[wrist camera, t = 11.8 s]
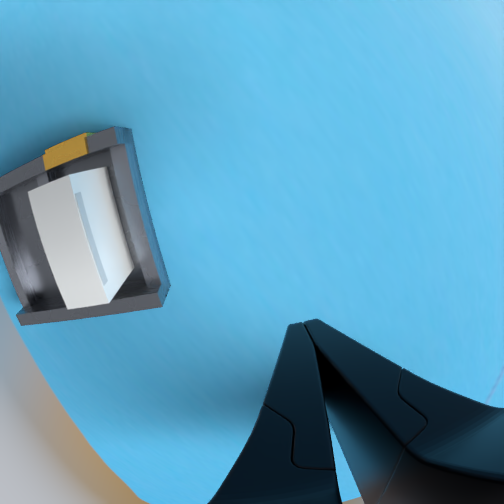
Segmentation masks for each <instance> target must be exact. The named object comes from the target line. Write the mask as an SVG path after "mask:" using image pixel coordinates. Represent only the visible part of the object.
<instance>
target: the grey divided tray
mask: <svg viewBox="0 0 504 504" xmlns="http://www.w3.org/2000/svg"><path fill="white" fill-rule="evenodd" d="M102 167H107V169H108V173H109V178H110V182H111V186H112V190H113V194H114V198H115V202H116V206H117V210H118V214H119V217H120V221H121V225H122V228H123V232H124V235H125V239H126V242H127V245H128V248H129V252H130V255H131V258H132V261H133V264H134V269H133V270H132V271H131V273H130V274H129V276H128V277H127V278H126V280H125V281H124V283H123V284H122V285H121V287H120V288H119V290H118V291H117V293H116V294H115V295H114V297H113V298H112V300H111V301H110V303H107V304H101V305H94V306H88V307H81V308H75V309H67V307H66V304H65V302H64V300H63V298H62V295H61V293H60V290H59V288H58V286H57V283H56V281H55V278H54V275H53V273H52V270H51V267H50V265H49V262H48V259H47V256H46V253H45V250H44V248H43V245H42V241H41V238H40V235H39V232H38V229H37V225H36V222H35V218H34V215H33V211H32V207H31V203H30V199H29V195H28V191H31V190H33V189H35V188H38V187H40V186H42V185H45V184H47V183H49V182H52V181H54V180H57V179H59V178H62V177H64V176H67V175H70V174H74V173H79V172H83V171H88V170H92V169H97V168H102ZM0 251H1V254H2V256H3V259H4V262H5V265H6V268H7V270H8V273H9V275H10V278H11V281H12V283H13V285H14V288H15V290H16V293H17V295H18V297H19V300H20V302H21V304H22V306H23V308H22V309H21V310H20V311H19V312H18V313H17V314H16V316H17V318H18V320H19V322H20V324H21V326H23V325H33V324H42V323H50V322H59V321H67V320H75V319H83V318H90V317H98V316H105V315H112V314H119V313H126V312H132V311H139V310H145V309H152V308H158V307H163V304H164V301H165V299H166V296H167V294H168V291H169V288H170V286H171V285H170V282H169V279H168V275H167V272H166V269H165V265H164V262H163V259H162V255H161V252H160V248H159V245H158V241H157V238H156V234H155V230H154V227H153V223H152V219H151V215H150V211H149V207H148V203H147V199H146V195H145V191H144V187H143V183H142V178H141V174H140V169H139V165H138V160H137V155H136V151H135V146H134V141H133V136H132V130H131V129H128V128H121V127H112V128H109V129H106V130H103V131H100V132H98V133H89V132H86V133H83V134H81V135H78V136H76V137H73V138H71V139H69V140H66V141H64V142H62V143H59V144H57V145H55V146H53V147H50V148H48V149H46V150H45V154H44V155H43V156H40V157H38V158H36V159H34V160H32V161H30V162H28V163H26V164H24V165H22V166H20V167H18V168H16V169H15V170H13V171H11V172H9V173H7V174H5V175H3V176H2V177H0Z"/></svg>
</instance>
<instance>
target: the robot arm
mask: <svg viewBox="0 0 504 504" xmlns="http://www.w3.org/2000/svg"><path fill="white" fill-rule="evenodd" d="M328 418H329V421H330V423H331V425H332V428H333V430H334V432H335V435H336V437H337V440H338V442H339V444H340V447H341V449H342V451H343V454H344V456H345V458H346V461H347V463H348V466H349V468H350V470H351V473H352V475H353V477H354V480H355V482H356V484H357V487H358V489H359V492H360V494H361V496H362V499H363V501H364V503H365V504H504V408H498V407H492V406H489V405H486V404H483V403H480V402H478V401H475V400H472V399H470V398H467V397H465V396H462V395H459V394H457V393H454V392H452V391H449V390H447V389H445V388H442V387H440V386H438V385H435V384H433V383H431V382H429V381H427V380H425V379H423V378H421V377H419V376H417V375H415V374H413V373H412V372H410V371H408V370H406V369H404V368H403V369H402V367H401V366H399V365H397V364H395V363H394V362H392V361H390V360H388V359H386V358H385V357H383V356H381V355H379V354H378V353H376V352H374V351H372V350H371V349H369V348H367V347H365V346H364V345H362V344H360V343H359V342H357V341H355V340H353V339H352V338H350V337H348V336H346V335H345V334H343V333H341V332H340V331H338V330H336V329H334V328H333V327H331V326H329V325H328V324H326V323H324V322H323V321H321V320H319V319H313V320H308V321H305V322H304V323H302V322H299V323H294V324H290V325H289V326H288V328H287V331H286V334H285V338H284V341H283V344H282V347H281V350H280V353H279V357H278V360H277V363H276V366H275V369H274V372H273V375H272V378H271V381H270V384H269V387H268V390H267V393H266V396H265V399H264V402H263V406H262V407H261V410H260V413H259V415H258V418H257V421H256V423H255V425H254V428H253V430H252V433H251V435H250V437H249V439H248V441H247V442H246V444H245V446H244V448H243V450H242V452H241V453H240V455H239V457H238V458H237V460H236V462H235V464H234V465H233V467H232V468H231V470H230V472H229V473H228V475H227V477H226V478H225V480H224V481H223V483H222V485H221V486H220V488H219V489H218V491H217V492H216V494H215V495H214V496H213V498H212V499H211V500H210V501H209V503H208V504H342V501H341V497H340V492H339V487H338V481H337V475H336V467H335V461H334V454H333V447H332V441H331V434H330V428H329V422H328Z"/></svg>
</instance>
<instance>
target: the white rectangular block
mask: <svg viewBox="0 0 504 504" xmlns="http://www.w3.org/2000/svg"><path fill="white" fill-rule="evenodd" d="M28 195H29V199H30V203H31V207H32V211H33V215H34V218H35V222H36V225H37V229H38V232H39V235H40V238H41V241H42V245H43V248H44V250H45V253H46V256H47V259H48V262H49V265H50V267H51V270H52V273H53V275H54V278H55V281H56V283H57V286H58V288H59V290H60V293H61V295H62V298H63V300H64V302H65V304H66V307H67V309H75V308H81V307H88V306H94V305H101V304H107V303H110V301H111V300H112V298H113V297H114V295H115V294H116V293H117V291H118V290H119V288H120V287H121V285H122V284H123V283H124V281H125V280H126V278H127V277H128V276H129V274H130V273H131V271H132V270H133V269H134V264H133V261H132V258H131V255H130V252H129V248H128V245H127V242H126V239H125V235H124V232H123V228H122V225H121V221H120V217H119V214H118V210H117V206H116V202H115V198H114V194H113V190H112V186H111V182H110V178H109V173H108V169H107V167H102V168H97V169H92V170H88V171H83V172H79V173H74V174H70V175H67V176H64V177H62V178H59V179H57V180H54V181H52V182H49V183H47V184H45V185H42V186H40V187H38V188H35V189H33V190H31V191H28Z"/></svg>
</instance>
